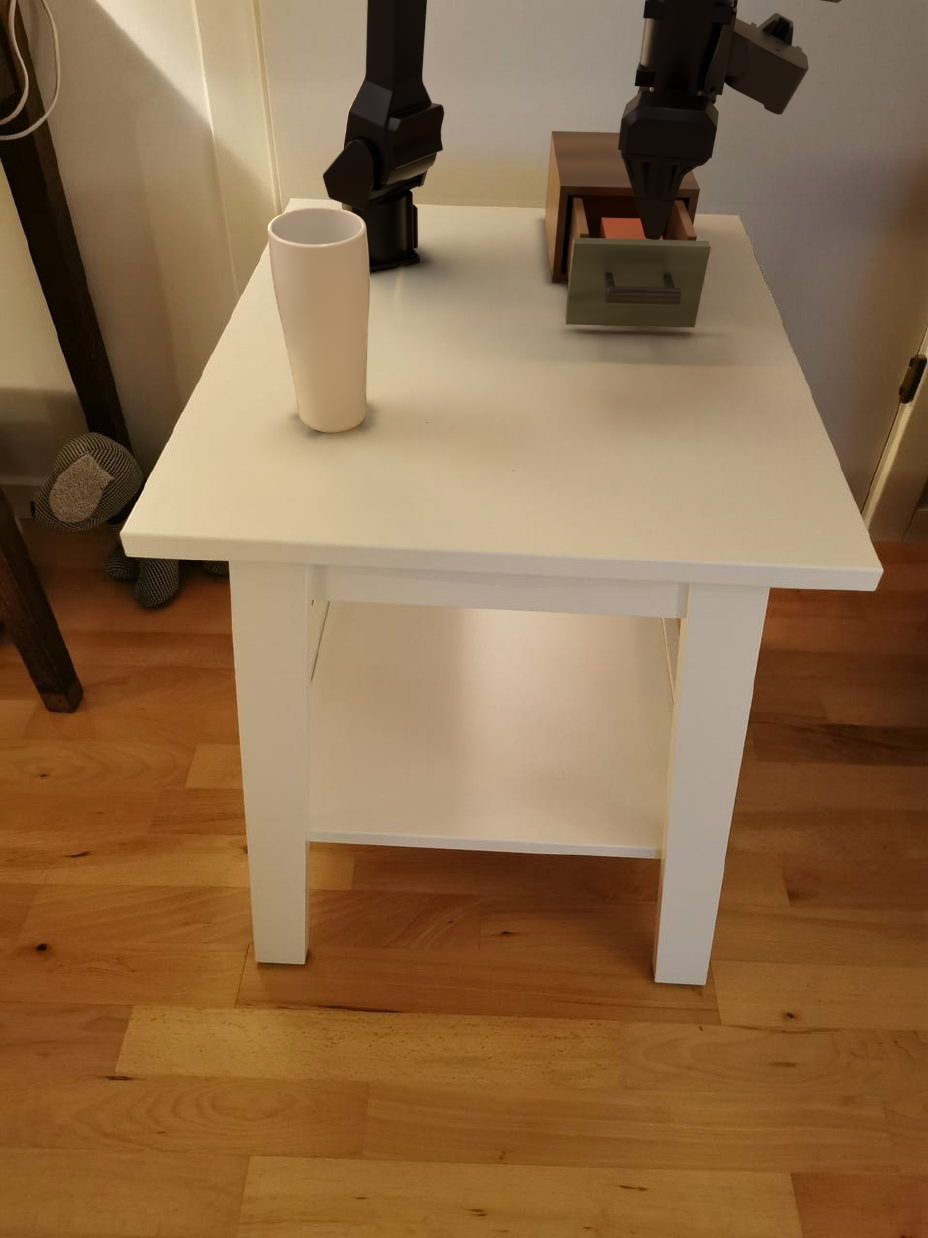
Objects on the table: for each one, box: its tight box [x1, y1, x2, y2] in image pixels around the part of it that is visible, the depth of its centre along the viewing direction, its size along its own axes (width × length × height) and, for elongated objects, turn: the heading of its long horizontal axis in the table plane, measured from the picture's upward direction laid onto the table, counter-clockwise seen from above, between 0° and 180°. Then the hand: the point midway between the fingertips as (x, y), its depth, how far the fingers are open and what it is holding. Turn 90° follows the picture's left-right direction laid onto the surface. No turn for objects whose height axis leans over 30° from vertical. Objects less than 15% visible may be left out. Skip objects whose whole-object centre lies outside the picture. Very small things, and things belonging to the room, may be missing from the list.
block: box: [599, 218, 663, 240], centre depth 87 cm, size 5×5×5 cm
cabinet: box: [544, 130, 701, 284], centre depth 96 cm, size 15×13×9 cm
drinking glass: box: [267, 206, 371, 433], centre depth 71 cm, size 7×7×15 cm
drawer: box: [564, 195, 712, 329], centre depth 86 cm, size 18×11×7 cm, turn 179°
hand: (657, 214), depth 75 cm, fingers open, 9 cm apart
